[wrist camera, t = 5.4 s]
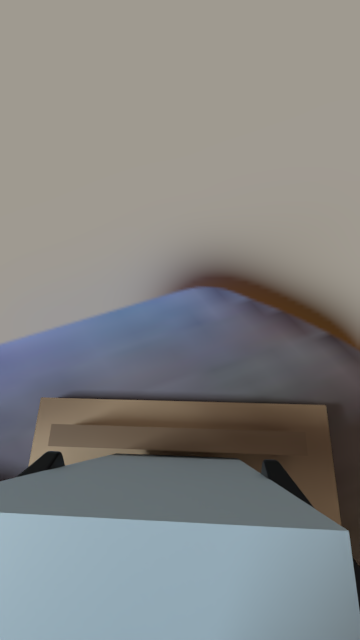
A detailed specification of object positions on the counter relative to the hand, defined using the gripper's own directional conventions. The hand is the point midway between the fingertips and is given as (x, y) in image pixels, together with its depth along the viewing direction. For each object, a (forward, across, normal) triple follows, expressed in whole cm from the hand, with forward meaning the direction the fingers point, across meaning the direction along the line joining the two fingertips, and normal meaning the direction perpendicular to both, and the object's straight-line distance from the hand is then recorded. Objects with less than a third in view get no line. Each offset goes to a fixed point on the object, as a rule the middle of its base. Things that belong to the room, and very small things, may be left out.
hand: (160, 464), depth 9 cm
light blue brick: (+4, 0, +6) cm, 7 cm away
